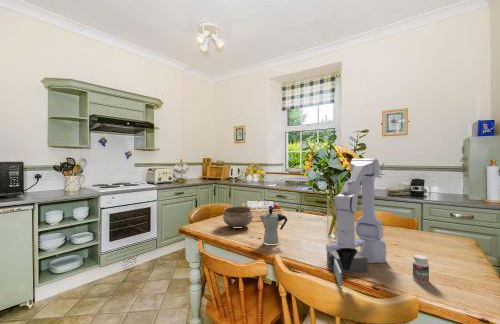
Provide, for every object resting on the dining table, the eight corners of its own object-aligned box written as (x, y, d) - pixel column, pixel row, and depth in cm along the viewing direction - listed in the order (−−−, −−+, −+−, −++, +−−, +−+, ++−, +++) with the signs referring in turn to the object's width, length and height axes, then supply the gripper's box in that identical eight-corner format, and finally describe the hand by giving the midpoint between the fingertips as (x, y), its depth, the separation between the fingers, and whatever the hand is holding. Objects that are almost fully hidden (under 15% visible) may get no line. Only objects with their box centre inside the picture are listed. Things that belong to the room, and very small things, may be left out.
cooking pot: (213, 227, 158) (213, 208, 158) (233, 221, 173) (233, 204, 173) (242, 234, 142) (242, 213, 142) (262, 227, 157) (262, 208, 157)
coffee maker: (258, 245, 123) (257, 210, 123) (259, 240, 132) (259, 206, 132) (288, 246, 121) (287, 210, 121) (287, 240, 130) (287, 207, 130)
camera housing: (354, 260, 103) (354, 246, 103) (367, 271, 93) (367, 256, 93) (324, 261, 103) (324, 247, 103) (334, 272, 93) (334, 257, 93)
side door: (342, 287, 81) (341, 272, 81) (339, 287, 81) (339, 272, 81) (336, 272, 93) (335, 258, 93) (333, 271, 93) (333, 258, 93)
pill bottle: (414, 282, 85) (414, 258, 85) (411, 276, 89) (411, 253, 89) (431, 284, 83) (430, 260, 83) (426, 278, 88) (426, 255, 88)
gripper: (335, 235, 77) (335, 278, 77) (371, 230, 82) (372, 271, 82) (322, 229, 84) (322, 268, 84) (356, 225, 88) (356, 262, 89)
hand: (346, 269), depth 83 cm, fingers closed
